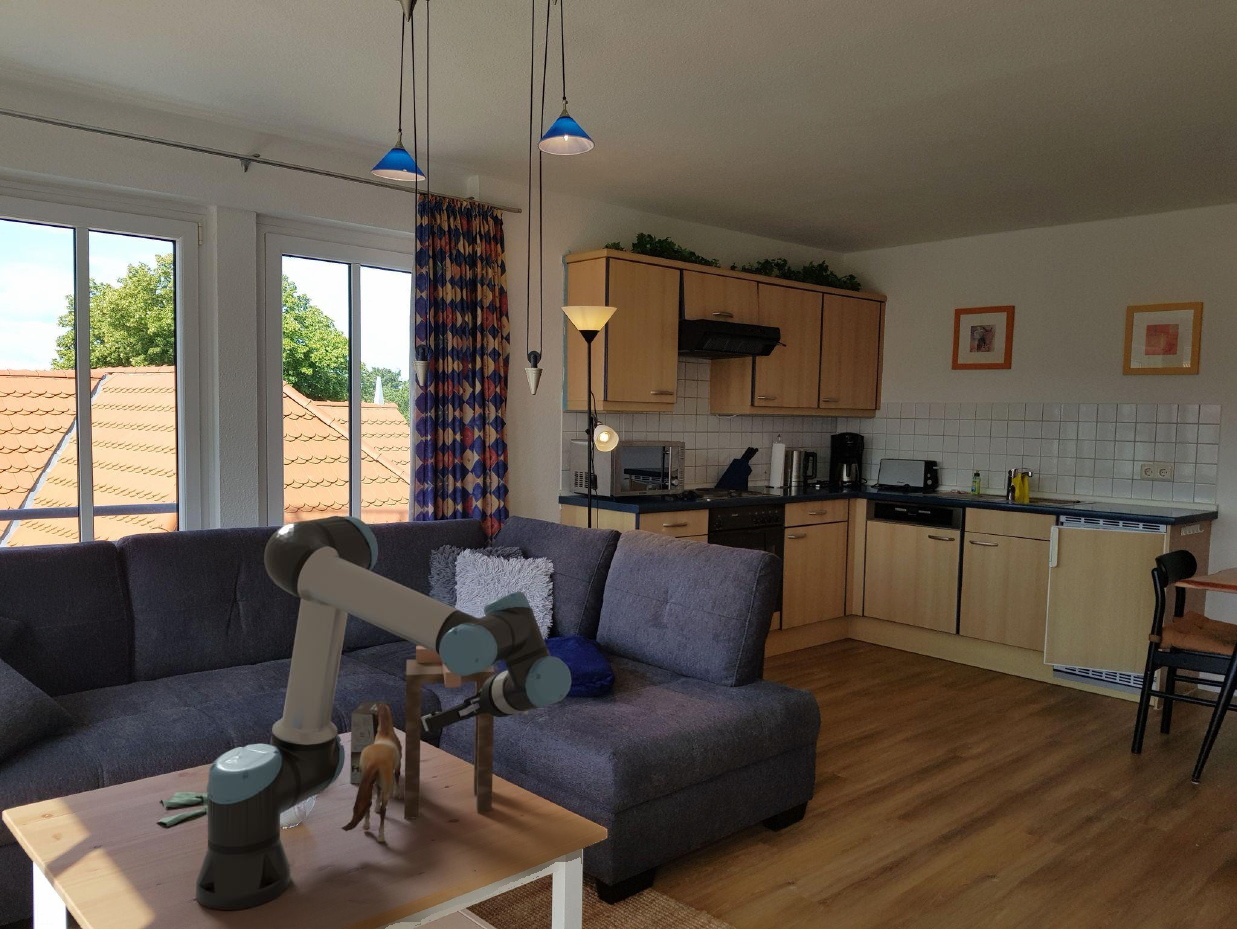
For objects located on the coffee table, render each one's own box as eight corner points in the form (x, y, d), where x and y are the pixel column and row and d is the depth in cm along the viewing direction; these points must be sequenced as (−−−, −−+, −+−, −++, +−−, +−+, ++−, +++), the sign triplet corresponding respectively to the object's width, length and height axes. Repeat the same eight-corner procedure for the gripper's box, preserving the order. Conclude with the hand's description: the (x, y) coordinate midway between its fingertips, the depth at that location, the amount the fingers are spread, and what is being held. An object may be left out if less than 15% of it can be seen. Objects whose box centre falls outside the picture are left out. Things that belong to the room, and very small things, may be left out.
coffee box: (377, 784, 200) (378, 713, 199) (349, 783, 200) (350, 713, 199) (388, 768, 209) (389, 701, 209) (361, 768, 209) (362, 700, 209)
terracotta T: (416, 688, 173) (416, 673, 172) (416, 659, 194) (416, 645, 194) (489, 685, 176) (489, 670, 176) (480, 657, 197) (480, 643, 197)
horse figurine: (376, 790, 197) (377, 699, 196) (411, 790, 197) (413, 699, 196) (339, 858, 166) (341, 750, 165) (381, 858, 166) (383, 750, 165)
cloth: (246, 824, 180) (247, 812, 180) (124, 843, 171) (124, 831, 171) (242, 786, 199) (242, 775, 199) (131, 802, 189) (131, 791, 189)
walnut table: (404, 818, 183) (406, 674, 182) (404, 794, 195) (406, 659, 194) (491, 811, 187) (494, 671, 186) (487, 789, 199) (489, 656, 198)
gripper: (457, 743, 147) (405, 755, 162) (570, 685, 163) (513, 701, 179) (441, 700, 148) (391, 717, 163) (555, 647, 164) (500, 666, 180)
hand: (455, 709), depth 171 cm, fingers open, 13 cm apart
